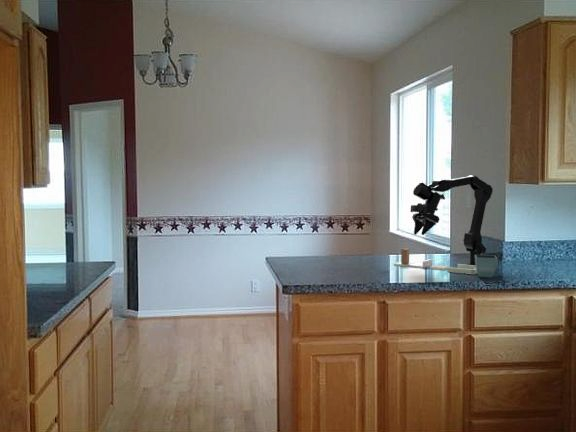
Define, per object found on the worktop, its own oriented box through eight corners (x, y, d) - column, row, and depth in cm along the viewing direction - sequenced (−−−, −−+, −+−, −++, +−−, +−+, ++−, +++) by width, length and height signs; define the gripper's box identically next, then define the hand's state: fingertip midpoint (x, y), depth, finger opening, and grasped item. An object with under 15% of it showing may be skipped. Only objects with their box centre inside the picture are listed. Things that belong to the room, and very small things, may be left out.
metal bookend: (393, 265, 304) (394, 249, 304) (401, 263, 311) (401, 247, 310) (425, 268, 295) (425, 251, 294) (431, 266, 301) (432, 250, 301)
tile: (435, 268, 300) (435, 264, 300) (449, 269, 296) (449, 266, 296) (429, 270, 294) (429, 266, 294) (443, 271, 290) (443, 268, 290)
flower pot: (497, 278, 268) (497, 258, 268) (475, 278, 270) (476, 257, 269) (494, 275, 277) (495, 255, 276) (473, 274, 279) (474, 254, 278)
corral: (458, 268, 297) (458, 263, 296) (483, 270, 290) (483, 266, 289) (447, 271, 286) (447, 267, 286) (473, 274, 279) (473, 270, 279)
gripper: (409, 197, 304) (396, 227, 303) (424, 196, 286) (411, 227, 284) (429, 207, 306) (416, 236, 304) (445, 206, 287) (432, 237, 286)
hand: (418, 234), depth 295 cm, fingers open, 9 cm apart
